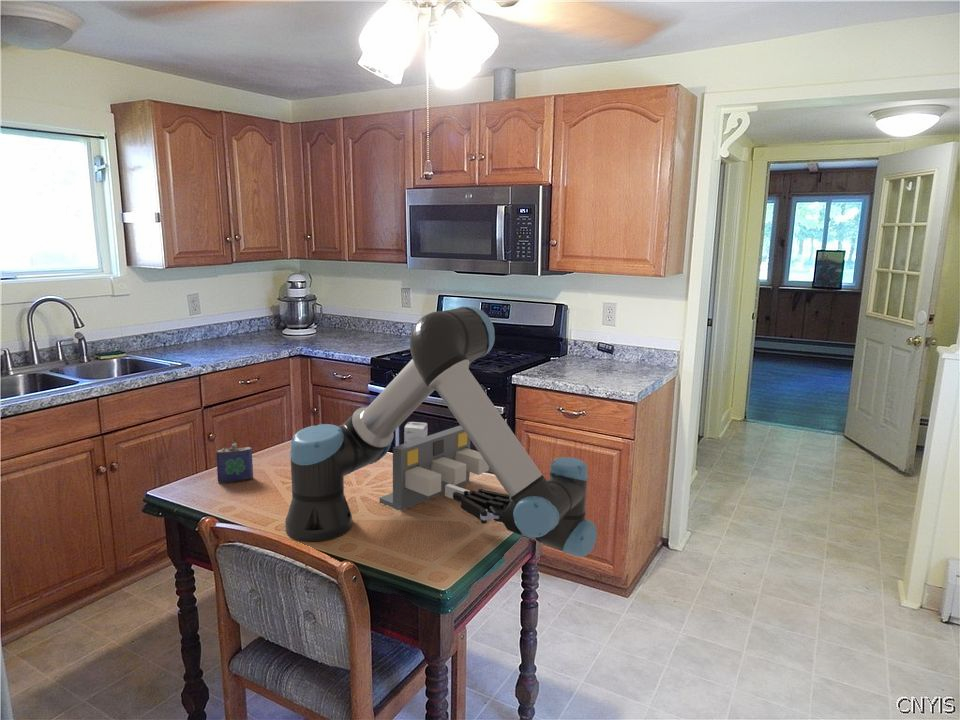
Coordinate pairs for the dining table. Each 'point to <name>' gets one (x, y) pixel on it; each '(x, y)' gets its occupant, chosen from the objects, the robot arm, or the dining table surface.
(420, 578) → the dining table surface
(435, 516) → the dining table surface
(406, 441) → the syrup box
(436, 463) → the button mid
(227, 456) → the flask
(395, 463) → the light board
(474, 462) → the button right
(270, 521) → the dining table surface
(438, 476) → the button left
